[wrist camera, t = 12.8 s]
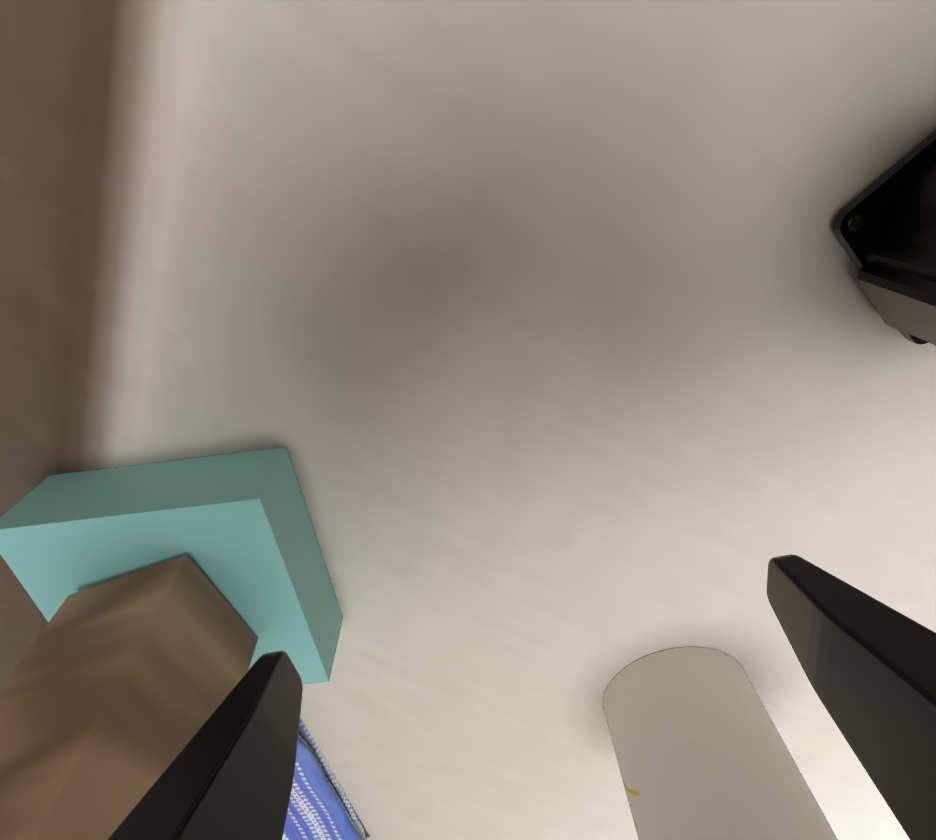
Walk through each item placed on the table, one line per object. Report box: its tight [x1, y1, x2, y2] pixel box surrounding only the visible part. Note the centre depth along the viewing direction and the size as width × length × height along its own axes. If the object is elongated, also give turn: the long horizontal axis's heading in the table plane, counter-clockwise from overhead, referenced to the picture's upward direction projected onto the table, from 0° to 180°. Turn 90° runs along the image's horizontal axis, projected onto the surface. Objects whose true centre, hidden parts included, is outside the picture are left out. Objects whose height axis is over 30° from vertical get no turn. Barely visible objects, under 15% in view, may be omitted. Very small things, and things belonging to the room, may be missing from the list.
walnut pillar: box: [0, 555, 259, 840], centre depth 15 cm, size 5×5×13 cm
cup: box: [603, 647, 838, 840], centre depth 25 cm, size 8×8×12 cm
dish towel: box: [282, 718, 367, 840], centre depth 33 cm, size 17×24×3 cm
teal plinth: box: [0, 447, 343, 684], centre depth 23 cm, size 10×10×4 cm
